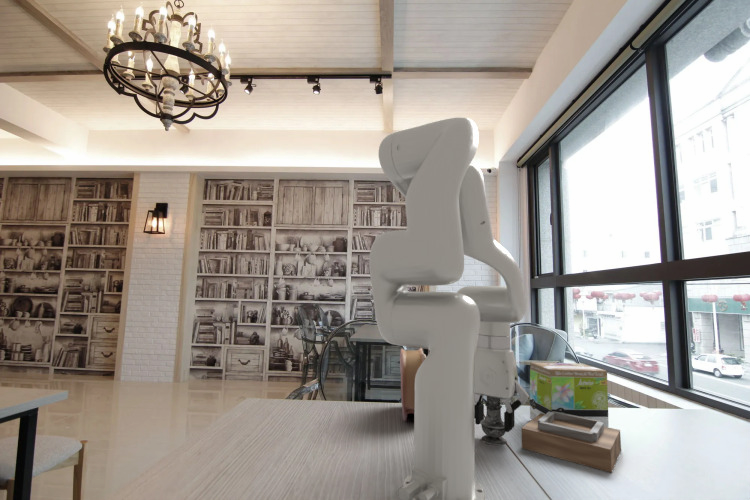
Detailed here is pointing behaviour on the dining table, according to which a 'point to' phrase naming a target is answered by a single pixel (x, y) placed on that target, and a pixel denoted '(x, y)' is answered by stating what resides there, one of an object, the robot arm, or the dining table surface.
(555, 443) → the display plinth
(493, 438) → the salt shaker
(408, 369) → the face sculpture
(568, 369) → the tea box
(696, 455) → the dining table surface
